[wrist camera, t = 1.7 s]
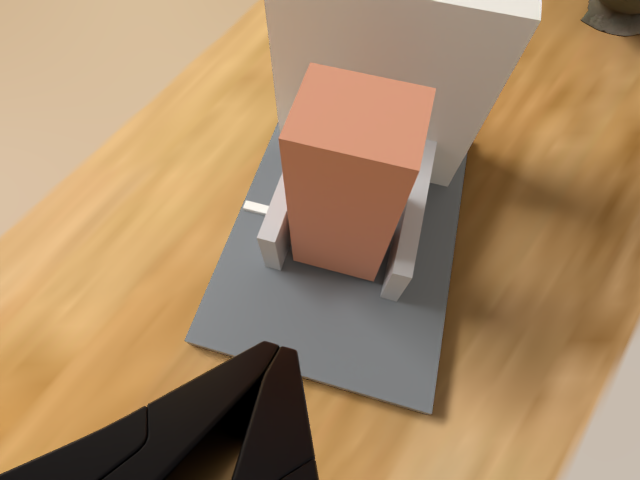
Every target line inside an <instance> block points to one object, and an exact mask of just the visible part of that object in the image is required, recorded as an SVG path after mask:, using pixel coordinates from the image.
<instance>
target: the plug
mask: <svg viewBox="0 0 640 480" xmlns="http://www.w3.org/2000/svg"><path fill="white" fill-rule="evenodd" d="M435 91H436V88H432V87H427V86H422V85H418V84H413V83H408V82H403V81H398V80H393V79H389V78H384V77H379V76H374V75H369V74H364V73H360V72H355V71H350V70H345V69H340V68H335V67H331V66H326V65H321V64H316V63H311V62H310V64H309V66H308V69H307V71H306V73H305V76H304V78H303V81H302V83H301V85H300V88H299V90H298V93H297V95H296V97H295V100H294V102H293V105H292V107H291V109H290V112H289V114H288V117H287V119H286V121H285V124H284V126H283V129H282V131H281V133H280V136H279V138H278V139H279V148H280V156H281V164H282V172H283V180H284V188H285V196H286V205H287V213H288V221H289V229H290V237H291V245H292V254H293V260H294V261H297V262H301V263H305V264H309V265H312V266H316V267H320V268H324V269H328V270H331V271H335V272H339V273H343V274H347V275H350V276H354V277H358V278H362V279H365V280H369V281H373V282H374V279H375V277H376V275H377V272H378V270H379V267H380V265H381V263H382V260H383V258H384V255H385V253H386V251H387V248H388V246H389V243H390V241H391V239H392V236H393V234H394V231H395V229H396V227H397V224H398V222H399V219H400V217H401V215H402V212H403V210H404V207H405V205H406V203H407V200H408V198H409V195H410V193H411V191H412V188H413V186H414V183H415V181H416V179H417V176H418V174H419V171H420V167H421V162H422V157H423V152H424V147H425V142H426V137H427V132H428V127H429V122H430V117H431V112H432V106H433V101H434V96H435Z"/></svg>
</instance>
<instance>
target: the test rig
mask: <svg viewBox="0 0 640 480" xmlns="http://www.w3.org/2000/svg"><path fill="white" fill-rule="evenodd" d="M264 2H265V11H266V19H267V28H268V37H269V45H270V54H271V62H272V71H273V80H274V88H275V97H276V106H277V114H278V123H277V126H276V128H275V130H274V133H273V135H272V137H271V140H270V142H269V144H268V147H267V149H266V151H265V154H264V156H263V158H262V161H261V163H260V165H259V168H258V170H257V172H256V175H255V177H254V179H253V182H252V184H251V186H250V189H249V191H248V193H247V196H246V198H245V200H244V203H243V205H242V207H241V210H240V212H239V214H238V217H237V219H236V221H235V224H234V226H233V228H232V231H231V233H230V235H229V238H228V240H227V242H226V245H225V247H224V249H223V252H222V254H221V256H220V259H219V261H218V263H217V266H216V268H215V270H214V273H213V275H212V277H211V280H210V282H209V284H208V287H207V289H206V291H205V294H204V296H203V298H202V301H201V303H200V305H199V308H198V310H197V312H196V315H195V317H194V319H193V322H192V324H191V326H190V329H189V331H188V334H187V336H186V338H185V342H187V343H188V344H190V345H194V346H197V347H200V348H204V349H207V350H211V351H214V352H217V353H221V354H224V355H227V356H231V357H235V356H236V355H238V354H240V353H242V352H244V351H246V350H247V349H249V348H251V347H253V346H255V345H257V344H258V343H260V342H262V341H268V342H271V343H274V344H278V345H279V347H281V346H285V347H288V348H292V349H295V350H297V352H298V357H299V363H300V370H301V376H302V378H305V379H308V380H312V381H315V382H318V383H322V384H325V385H328V386H332V387H335V388H338V389H342V390H345V391H349V392H352V393H355V394H359V395H362V396H365V397H369V398H372V399H375V400H379V401H382V402H386V403H389V404H392V405H396V406H399V407H402V408H406V409H409V410H413V411H416V412H419V413H423V414H426V415H429V414H432V409H433V402H434V395H435V387H436V380H437V373H438V365H439V358H440V350H441V343H442V336H443V328H444V321H445V314H446V306H447V299H448V292H449V284H450V277H451V269H452V262H453V255H454V247H455V240H456V233H457V225H458V218H459V210H460V203H461V196H462V188H463V181H464V174H465V166H466V159H467V151H468V150H469V148H470V146H471V144H472V143H473V141H474V139H475V137H476V135H477V134H478V132H479V130H480V128H481V127H482V125H483V123H484V121H485V119H486V118H487V116H488V114H489V112H490V110H491V109H492V107H493V105H494V103H495V102H496V100H497V98H498V96H499V94H500V93H501V91H502V89H503V87H504V86H505V84H506V82H507V80H508V78H509V77H510V75H511V73H512V71H513V70H514V68H515V66H516V64H517V62H518V61H519V59H520V57H521V55H522V53H523V52H524V50H525V48H526V46H527V45H528V43H529V41H530V39H531V37H532V36H533V34H534V32H535V30H536V29H537V27H538V25H539V23H540V21H541V6H542V0H264ZM310 62H311V63H316V64H321V65H326V66H331V67H335V68H340V69H345V70H350V71H355V72H360V73H364V74H369V75H374V76H379V77H384V78H389V79H393V80H398V81H403V82H408V83H413V84H418V85H422V86H427V87H432V88H436V91H435V96H434V101H433V106H432V112H431V117H430V122H429V127H428V132H427V137H426V142H425V147H424V152H423V157H422V162H421V167H420V171H419V174H418V176H417V179H416V181H415V183H414V186H413V188H412V191H411V193H410V195H409V198H408V200H407V203H406V205H405V207H404V210H403V212H402V215H401V217H400V219H399V222H398V224H397V227H396V229H395V231H394V234H393V236H392V239H391V241H390V243H389V246H388V248H387V251H386V253H385V255H384V258H383V260H382V263H381V265H380V267H379V270H378V272H377V275H376V277H375V279H374V282H373V281H369V280H365V279H362V278H358V277H354V276H350V275H347V274H343V273H339V272H335V271H331V270H328V269H324V268H320V267H316V266H312V265H309V264H305V263H301V262H297V261H294V260H293V254H292V245H291V237H290V229H289V221H288V213H287V205H286V196H285V188H284V180H283V172H282V164H281V156H280V148H279V139H278V138H279V136H280V133H281V131H282V129H283V126H284V124H285V121H286V119H287V117H288V114H289V112H290V109H291V107H292V105H293V102H294V100H295V97H296V95H297V93H298V90H299V88H300V85H301V83H302V81H303V78H304V76H305V73H306V71H307V69H308V66H309V64H310Z"/></svg>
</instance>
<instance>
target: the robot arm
mask: <svg viewBox="0 0 640 480" xmlns="http://www.w3.org/2000/svg"><path fill="white" fill-rule="evenodd" d="M0 480H319V477H318V471H317V465H316V461H315V454H314V448H313V442H312V436H311V430H310V424H309V418H308V412H307V406H306V400H305V394H304V388H303V382H302V376H301V370H300V363H299V357H298V352H297V350H295V349H292V348H288V347H285V346H281V347H279V345H278V344H274V343H271V342H268V341H262V342H260V343H258V344H257V345H255V346H253V347H251V348H249V349H247V350H246V351H244V352H242V353H240V354H238V355H236V356H235V357H233V358H231V359H229V360H227V361H226V362H224V363H222V364H220V365H218V366H216V367H215V368H213V369H211V370H209V371H207V372H206V373H204V374H202V375H200V376H198V377H196V378H195V379H193V380H191V381H189V382H187V383H186V384H184V385H182V386H180V387H178V388H176V389H175V390H173V391H171V392H169V393H167V394H165V395H164V396H162V397H160V398H158V399H156V400H155V401H153V402H151V403H149V404H148V405H147V407H146V406H143V407H142V408H140V409H138V410H136V411H134V412H132V413H131V414H129V415H127V416H125V417H123V418H121V419H119V420H117V421H115V422H113V423H111V424H110V425H108V426H106V427H104V428H102V429H100V430H98V431H95V432H93V433H91V434H89V435H87V436H85V437H83V438H80V439H78V440H76V441H74V442H72V443H70V444H67V445H65V446H63V447H61V448H58V449H56V450H54V451H52V452H49V453H47V454H45V455H42V456H40V457H38V458H36V459H33V460H31V461H29V462H27V463H24V464H22V465H20V466H18V467H15V468H13V469H11V470H9V471H6V472H4V473H2V474H0Z"/></svg>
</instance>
